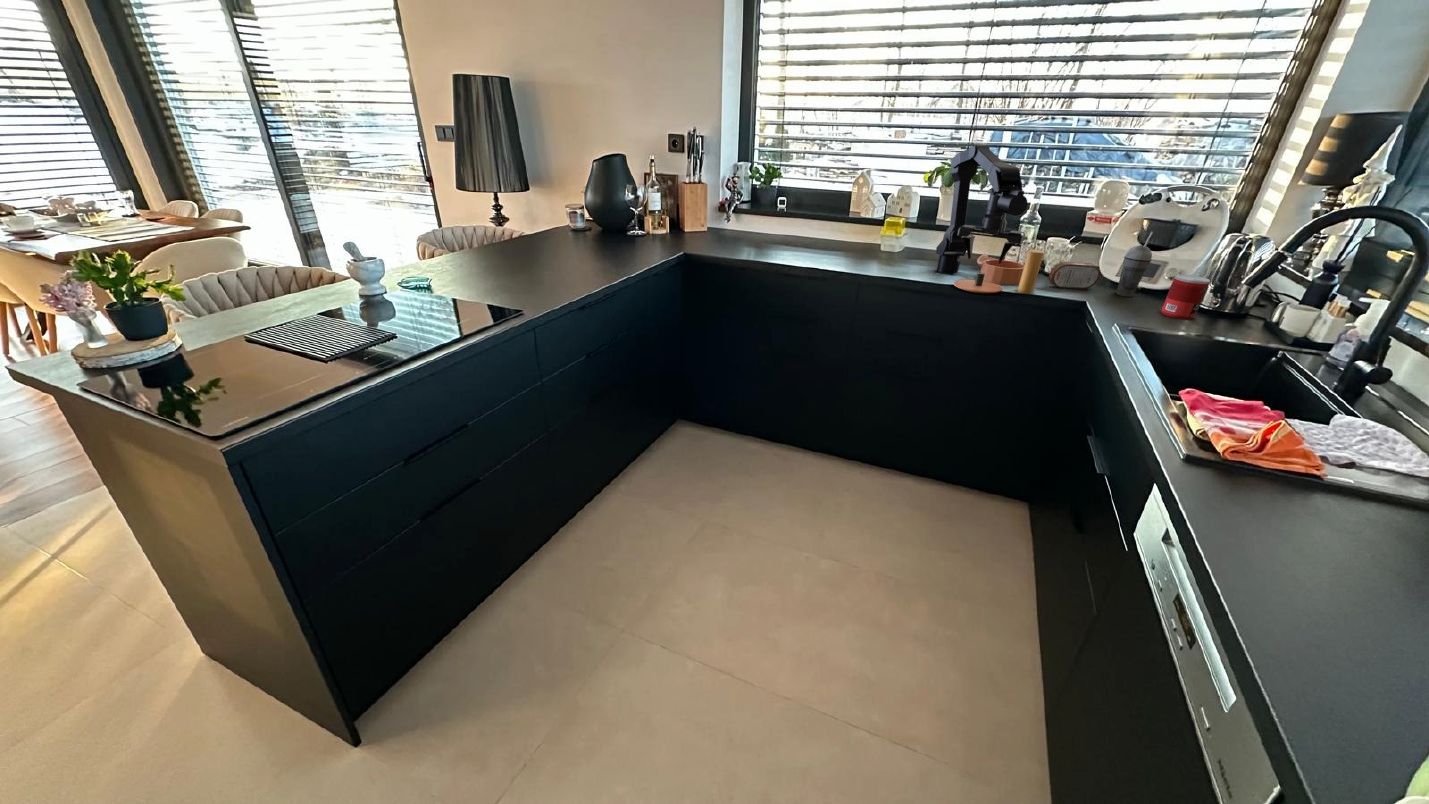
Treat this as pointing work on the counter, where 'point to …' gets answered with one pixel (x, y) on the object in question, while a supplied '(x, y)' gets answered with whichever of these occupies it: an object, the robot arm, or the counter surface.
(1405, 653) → the counter surface
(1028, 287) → the eggroll
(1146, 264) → the beverage cup
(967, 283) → the lid
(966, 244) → the robot arm
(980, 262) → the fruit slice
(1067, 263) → the tin
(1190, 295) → the canned food
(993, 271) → the pot
